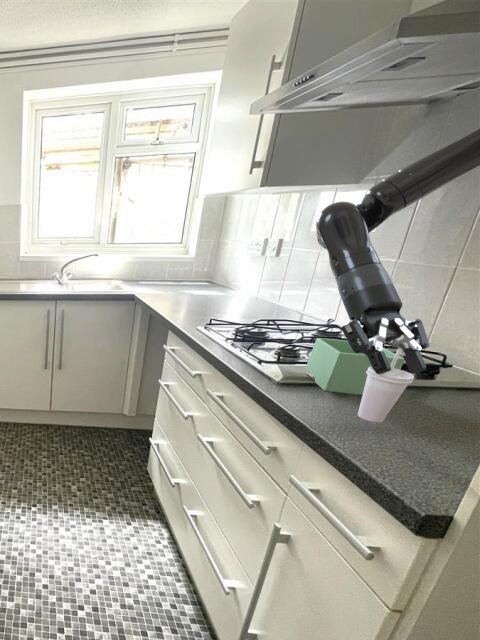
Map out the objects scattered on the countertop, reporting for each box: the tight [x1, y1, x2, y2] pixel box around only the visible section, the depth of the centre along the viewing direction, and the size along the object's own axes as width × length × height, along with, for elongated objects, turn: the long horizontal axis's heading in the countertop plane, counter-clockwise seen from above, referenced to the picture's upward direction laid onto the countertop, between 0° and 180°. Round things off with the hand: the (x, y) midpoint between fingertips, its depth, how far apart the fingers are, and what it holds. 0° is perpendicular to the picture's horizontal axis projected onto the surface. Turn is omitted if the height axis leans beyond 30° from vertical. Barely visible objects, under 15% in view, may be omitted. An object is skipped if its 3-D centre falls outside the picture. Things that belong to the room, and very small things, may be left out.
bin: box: [305, 337, 405, 396], centre depth 101 cm, size 12×12×10 cm
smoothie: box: [357, 349, 415, 423], centre depth 78 cm, size 6×6×14 cm
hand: (401, 372), depth 75 cm, fingers closed on smoothie, 6 cm apart
